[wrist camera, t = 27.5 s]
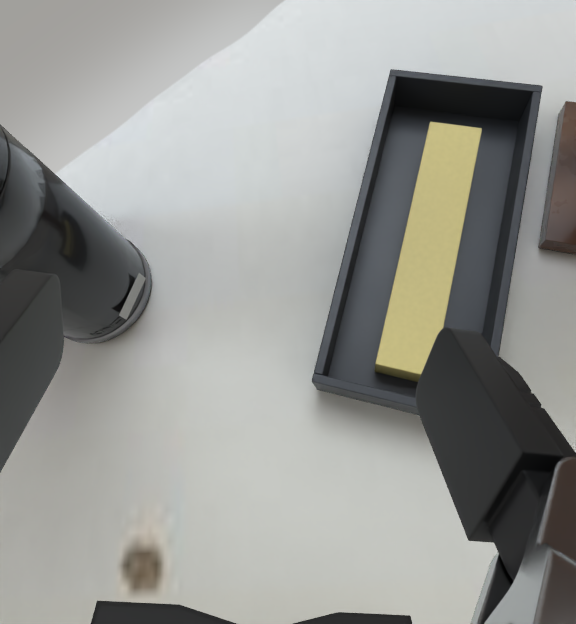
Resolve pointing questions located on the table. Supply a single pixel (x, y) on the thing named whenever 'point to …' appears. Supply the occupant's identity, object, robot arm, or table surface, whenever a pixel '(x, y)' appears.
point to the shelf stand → (562, 187)
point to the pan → (394, 215)
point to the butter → (428, 250)
